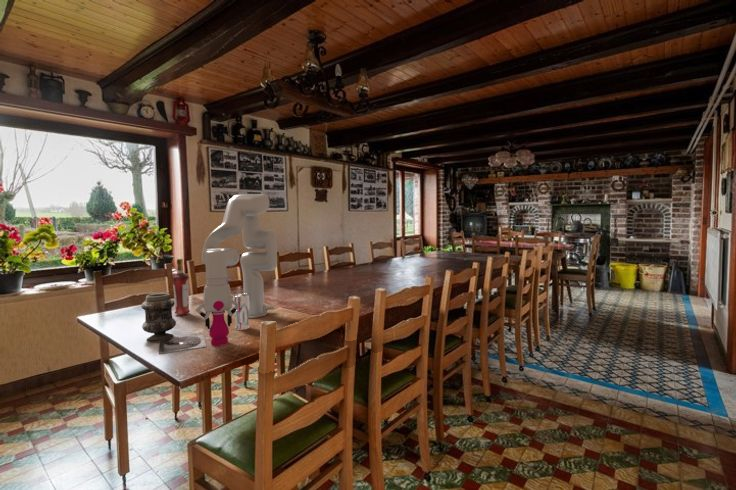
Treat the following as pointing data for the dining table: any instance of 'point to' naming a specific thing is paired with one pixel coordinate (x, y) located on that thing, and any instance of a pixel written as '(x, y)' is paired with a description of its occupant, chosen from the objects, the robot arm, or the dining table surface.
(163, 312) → the stone urn vase
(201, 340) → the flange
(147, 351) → the dining table surface
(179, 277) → the liquor
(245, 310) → the white drink can
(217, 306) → the pepper mill
